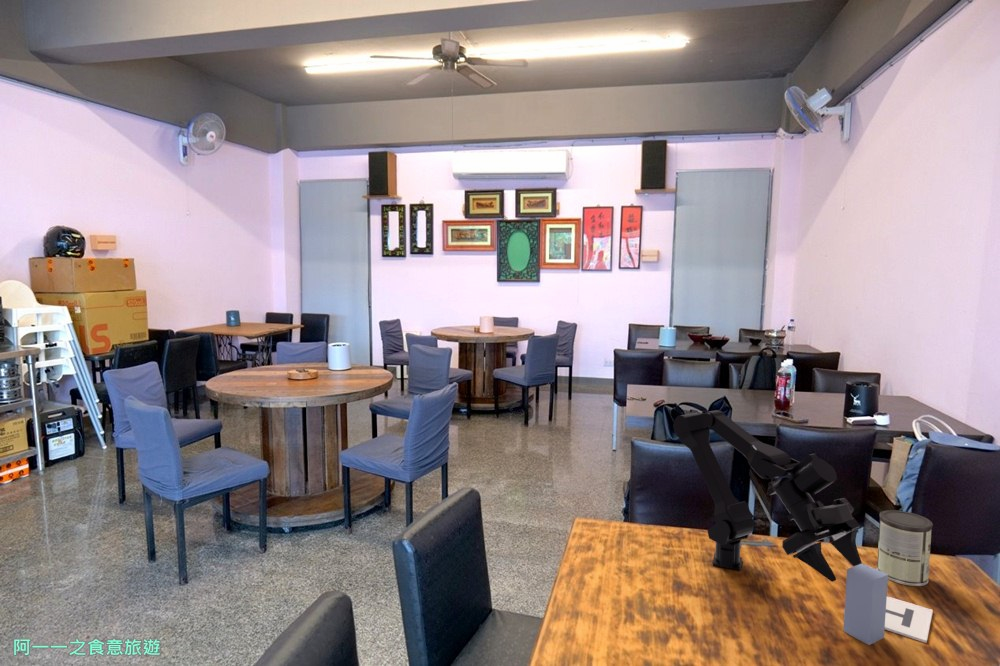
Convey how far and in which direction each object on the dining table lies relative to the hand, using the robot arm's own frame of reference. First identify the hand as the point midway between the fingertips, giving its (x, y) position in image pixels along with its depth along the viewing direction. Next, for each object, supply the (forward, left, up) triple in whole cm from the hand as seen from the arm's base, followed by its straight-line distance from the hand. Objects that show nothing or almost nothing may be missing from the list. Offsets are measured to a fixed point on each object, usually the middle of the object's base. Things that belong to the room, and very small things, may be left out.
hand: (848, 575), depth 116 cm
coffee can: (-29, +14, -11) cm, 34 cm away
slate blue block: (+2, +3, -10) cm, 11 cm away
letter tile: (-9, +9, -10) cm, 16 cm away
